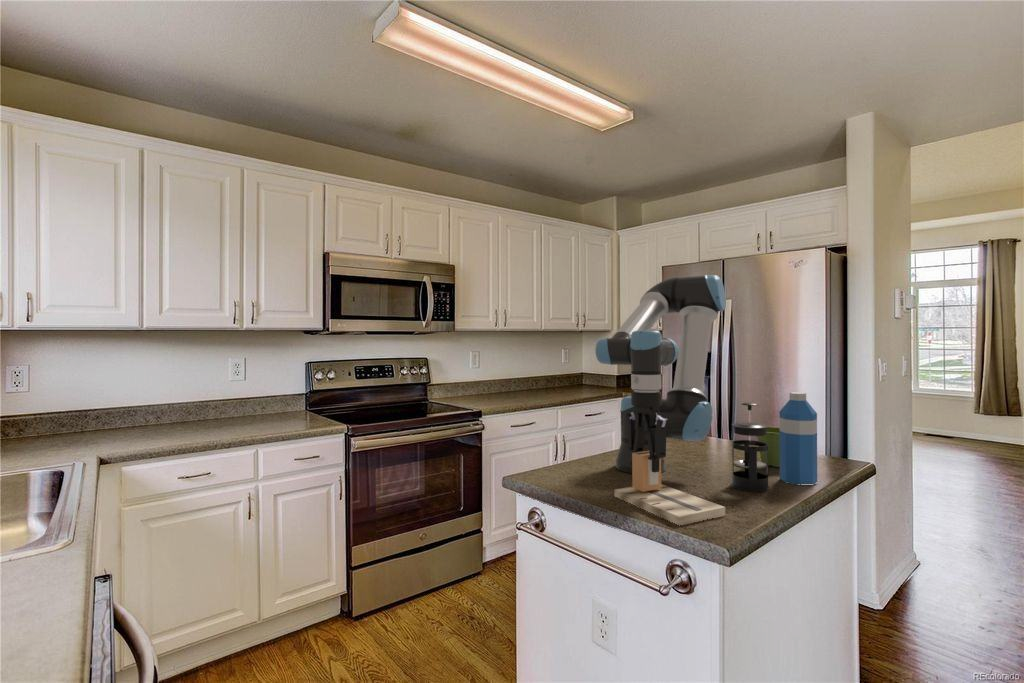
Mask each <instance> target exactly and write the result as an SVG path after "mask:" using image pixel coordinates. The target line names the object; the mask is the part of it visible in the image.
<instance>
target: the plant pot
mask: <svg viewBox="0 0 1024 683" xmlns="http://www.w3.org/2000/svg"><path fill="white" fill-rule="evenodd" d="M756 438H757V441H760V442H764V443H767V444H768V467H769V466H771V467H774V468H780V426H779V427H778V426H768V428H767V429H766V435H763V436H756ZM759 457H760V462H763V463H765V464H766V451H760V452H759Z"/></svg>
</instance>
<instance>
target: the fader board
mask: <svg viewBox="0 0 1024 683" xmlns="http://www.w3.org/2000/svg"><path fill="white" fill-rule="evenodd" d="M613 493H614V494H613V496H615V497H618V498H620V499H622V500H624V501H627V502H629V503H631V504H633V505H636V506H637V507H636V508H638V507H640V508H642V509H644V510H646V511H645V512H647V511H648V512H647V513H649V512H651V513H653V514H655V515H654V516H656V515H657V516H656V517H658V516H659V517H658V518H660V517H661V518H660V519H662V518H664V519H663V520H665V519H666V520H665V521H667V520H668V521H667V522H669V521H670V523H672V522H673V523H672V524H674V523H675V524H674V525H676V524H677V525H676V526H678V525H679V526H678V527H680V525H681V526H685V525H689V524H694V522H695V523H699V522H703V520H704V521H708V520H713V519H717V518H722V517H726V506H723V505H721V504H717V503H715V502H712V501H709V500H706V499H703V498H700V497H698V496H695V495H692V494H689V493H687V492H684V491H682V490H679V489H675V488H673V487H670V486H668V485H665V484H662V483H661V489H656V490H650V491H645V492H642V491H639V490H637V489H634V488H632V486H626V487H621V488H615V489H614V490H613ZM615 497H614V498H615ZM620 499H619V500H620ZM622 500H621V501H622ZM624 501H623V502H624ZM629 503H628V504H629ZM631 504H630V505H631ZM633 505H632V506H633ZM640 508H639V509H640ZM642 509H641V510H642ZM644 510H643V511H644ZM651 513H650V514H651ZM653 514H652V515H653ZM712 518H713V519H712ZM707 519H708V520H707Z"/></svg>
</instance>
